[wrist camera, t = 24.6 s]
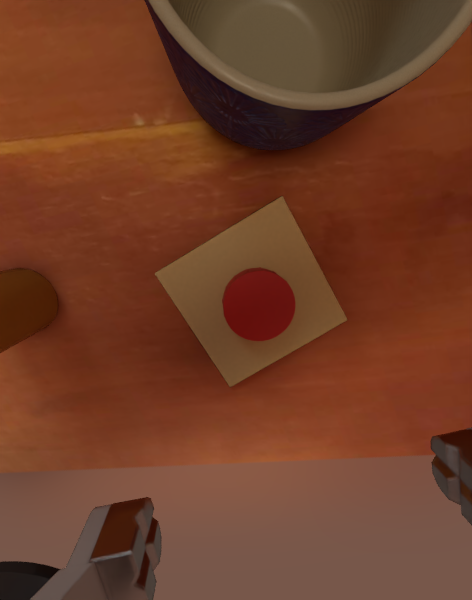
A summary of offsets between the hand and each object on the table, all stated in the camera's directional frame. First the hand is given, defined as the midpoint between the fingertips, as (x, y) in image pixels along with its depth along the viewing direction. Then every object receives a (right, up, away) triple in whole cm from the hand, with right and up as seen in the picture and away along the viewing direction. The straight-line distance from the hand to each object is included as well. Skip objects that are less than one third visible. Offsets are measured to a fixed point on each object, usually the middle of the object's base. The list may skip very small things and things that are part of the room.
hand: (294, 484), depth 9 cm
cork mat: (0, +6, +23) cm, 23 cm away
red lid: (0, +5, +20) cm, 21 cm away
